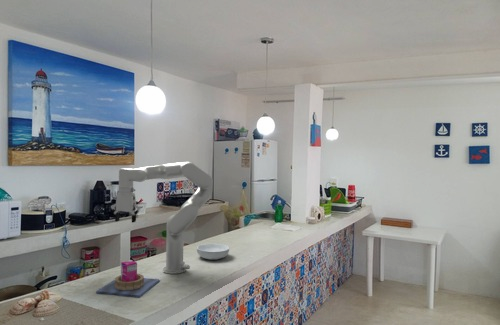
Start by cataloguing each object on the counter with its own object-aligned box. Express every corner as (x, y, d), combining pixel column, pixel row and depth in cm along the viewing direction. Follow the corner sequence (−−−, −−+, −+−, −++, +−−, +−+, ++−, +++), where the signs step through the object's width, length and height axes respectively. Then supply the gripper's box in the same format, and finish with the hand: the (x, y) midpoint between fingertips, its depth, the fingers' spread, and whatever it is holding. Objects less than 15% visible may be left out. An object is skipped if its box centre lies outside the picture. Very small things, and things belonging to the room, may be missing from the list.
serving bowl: (224, 264, 223) (224, 252, 223) (191, 261, 228) (191, 250, 227) (232, 254, 244) (233, 244, 244) (202, 252, 248) (202, 242, 248)
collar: (159, 281, 191) (159, 272, 191) (139, 297, 169) (139, 287, 169) (120, 277, 195) (120, 269, 195) (96, 293, 173) (96, 283, 173)
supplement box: (120, 284, 182) (120, 261, 182) (131, 281, 186) (131, 259, 186) (126, 287, 178) (126, 264, 178) (137, 284, 182) (137, 262, 182)
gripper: (143, 190, 204) (143, 221, 205) (115, 189, 207) (114, 219, 208) (137, 192, 197) (136, 223, 197) (107, 190, 200) (107, 222, 200)
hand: (125, 221), depth 202 cm, fingers open, 9 cm apart
